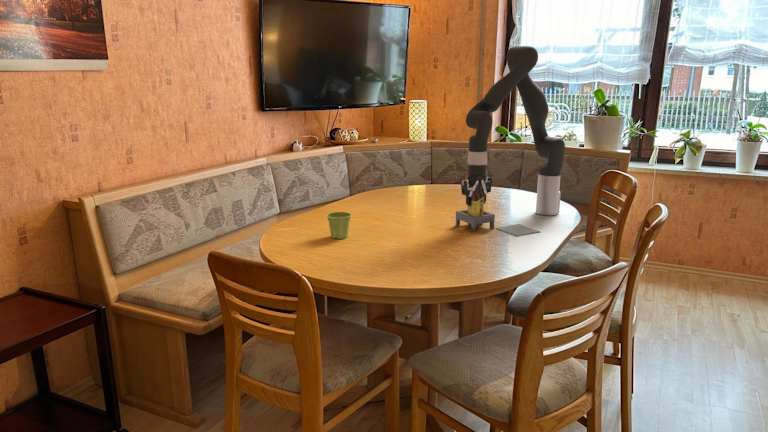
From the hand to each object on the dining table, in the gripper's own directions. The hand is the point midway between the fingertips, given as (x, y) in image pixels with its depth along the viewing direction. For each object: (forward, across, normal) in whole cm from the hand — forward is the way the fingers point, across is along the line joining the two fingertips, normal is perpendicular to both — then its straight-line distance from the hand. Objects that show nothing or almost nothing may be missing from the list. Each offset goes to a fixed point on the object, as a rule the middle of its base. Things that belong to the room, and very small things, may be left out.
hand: (475, 204), depth 229 cm
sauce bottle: (+9, 0, 0) cm, 9 cm away
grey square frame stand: (+9, 0, 0) cm, 9 cm away
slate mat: (+10, -12, +12) cm, 19 cm away
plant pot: (+9, +53, -14) cm, 56 cm away
